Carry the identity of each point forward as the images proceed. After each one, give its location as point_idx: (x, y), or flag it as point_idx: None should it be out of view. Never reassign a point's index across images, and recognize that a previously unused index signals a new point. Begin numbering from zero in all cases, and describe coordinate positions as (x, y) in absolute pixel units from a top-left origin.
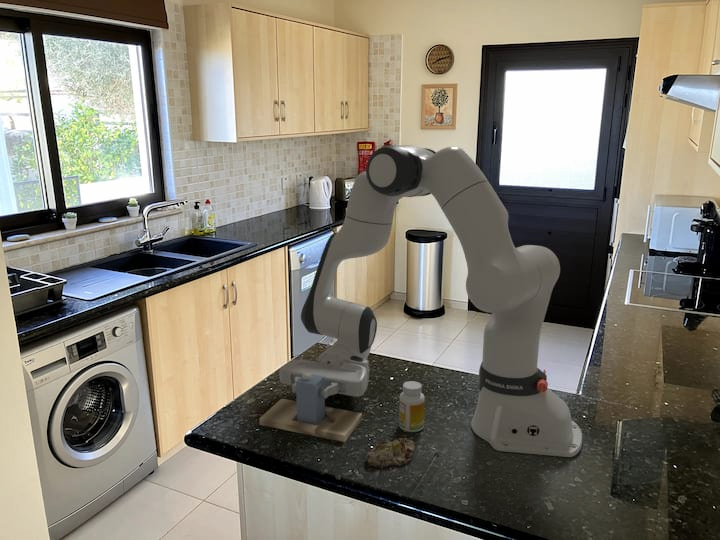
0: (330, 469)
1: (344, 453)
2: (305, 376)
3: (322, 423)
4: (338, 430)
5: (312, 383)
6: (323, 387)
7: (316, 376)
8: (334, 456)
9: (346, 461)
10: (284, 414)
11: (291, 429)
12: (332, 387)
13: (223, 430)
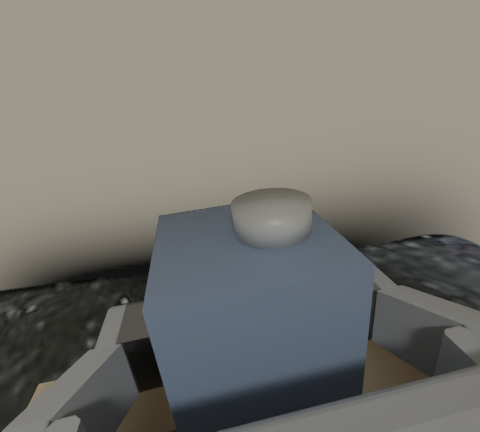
0: (85, 291)
1: (49, 351)
2: (260, 192)
3: (167, 409)
4: None
5: (186, 216)
6: (145, 333)
7: (220, 274)
8: (82, 327)
9: (42, 327)
10: (381, 373)
11: None
12: (60, 383)
13: (436, 263)
